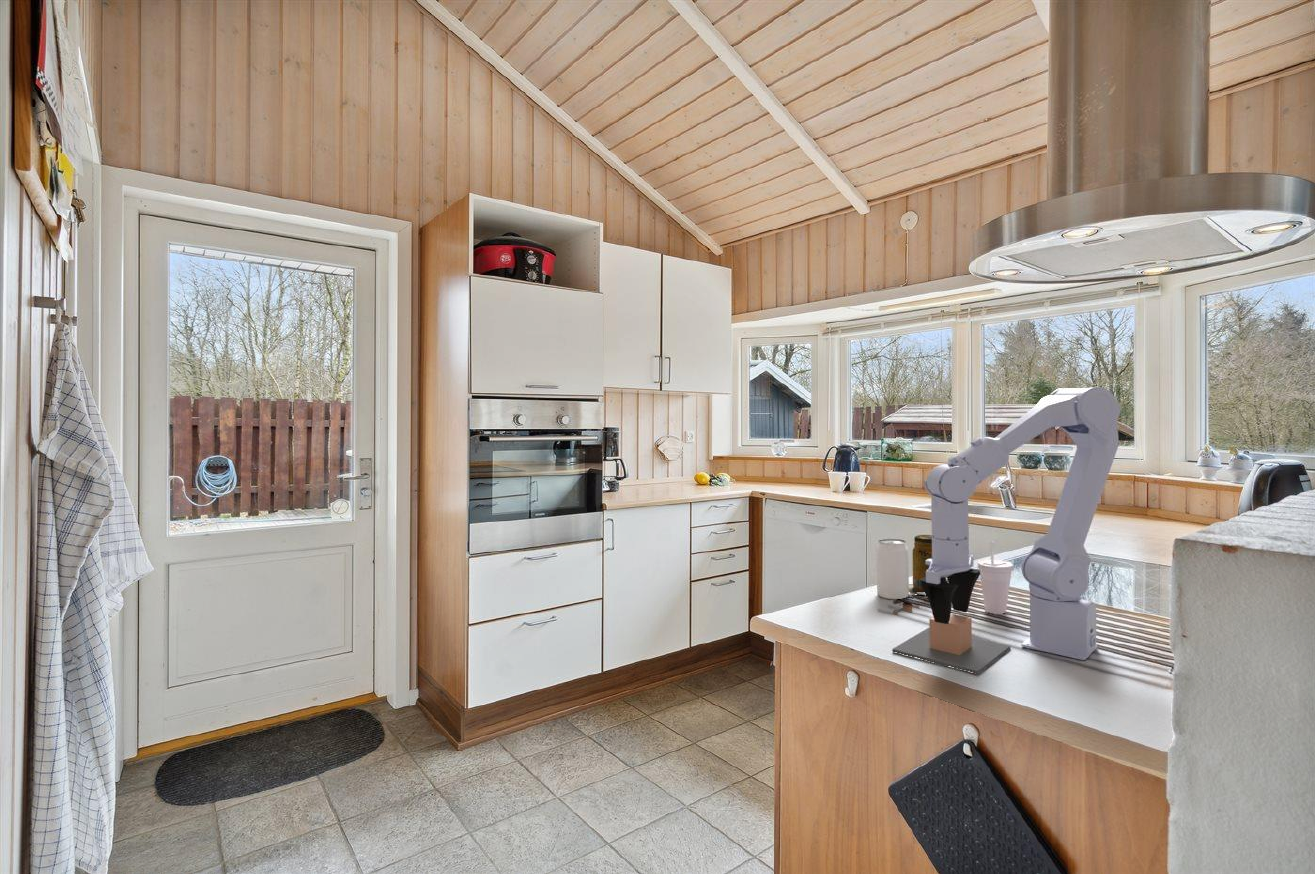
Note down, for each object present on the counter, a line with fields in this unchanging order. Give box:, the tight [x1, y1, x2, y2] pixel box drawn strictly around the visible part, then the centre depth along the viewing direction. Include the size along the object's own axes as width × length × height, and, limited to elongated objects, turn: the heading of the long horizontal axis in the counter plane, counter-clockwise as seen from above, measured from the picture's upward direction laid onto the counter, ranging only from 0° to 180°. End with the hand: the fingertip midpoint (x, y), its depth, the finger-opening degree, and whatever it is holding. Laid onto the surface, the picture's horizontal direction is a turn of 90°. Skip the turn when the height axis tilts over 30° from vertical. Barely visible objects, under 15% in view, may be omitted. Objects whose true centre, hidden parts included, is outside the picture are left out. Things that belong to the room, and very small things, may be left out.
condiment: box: [909, 534, 932, 596], centre depth 148 cm, size 7×8×12 cm
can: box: [876, 538, 910, 601], centre depth 145 cm, size 6×6×12 cm
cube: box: [928, 613, 973, 655], centre depth 114 cm, size 5×5×5 cm
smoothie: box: [977, 540, 1015, 615], centre depth 133 cm, size 6×6×14 cm
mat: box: [891, 627, 1011, 675], centre depth 114 cm, size 14×14×1 cm
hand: (951, 616), depth 114 cm, fingers open, 7 cm apart
